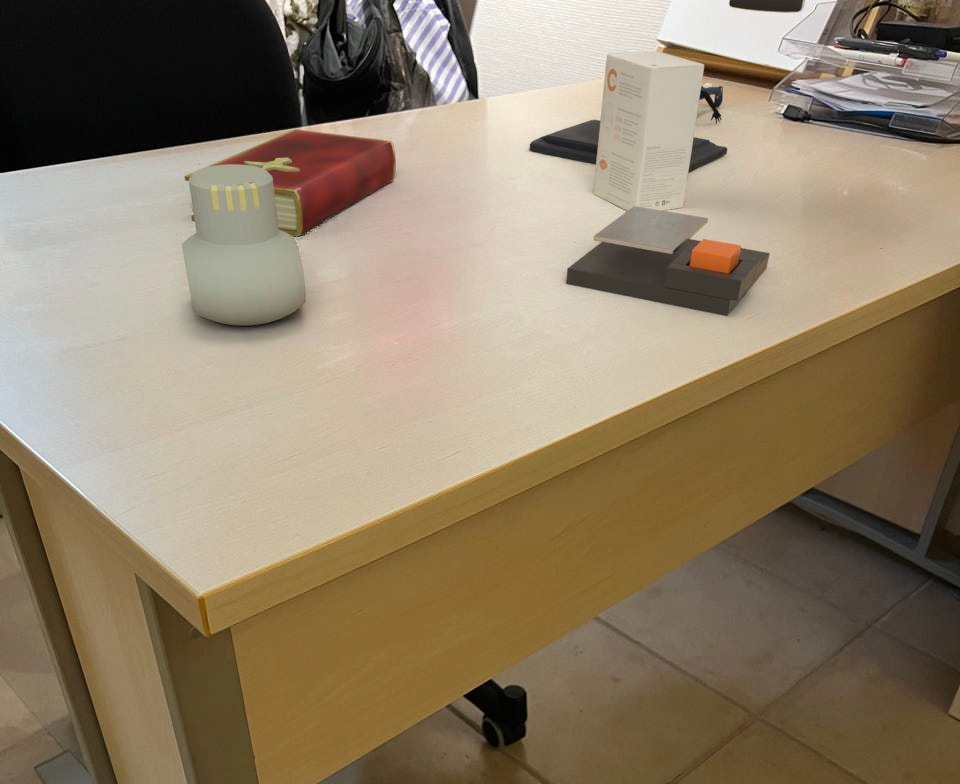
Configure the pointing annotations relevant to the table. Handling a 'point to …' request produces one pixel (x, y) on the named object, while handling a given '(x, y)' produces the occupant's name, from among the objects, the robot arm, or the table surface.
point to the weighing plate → (651, 230)
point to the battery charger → (769, 5)
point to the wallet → (584, 145)
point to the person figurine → (706, 92)
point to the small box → (647, 129)
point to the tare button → (715, 256)
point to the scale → (667, 276)
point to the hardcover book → (318, 174)
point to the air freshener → (240, 249)
